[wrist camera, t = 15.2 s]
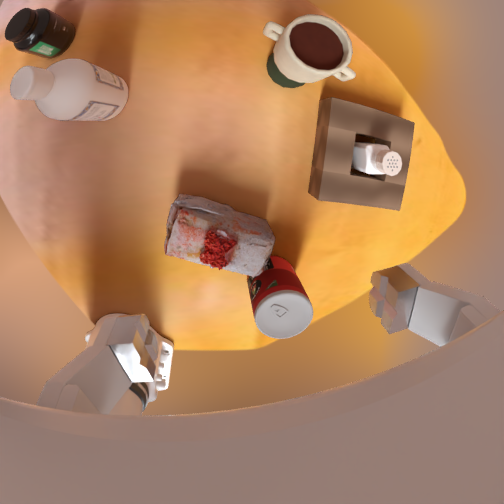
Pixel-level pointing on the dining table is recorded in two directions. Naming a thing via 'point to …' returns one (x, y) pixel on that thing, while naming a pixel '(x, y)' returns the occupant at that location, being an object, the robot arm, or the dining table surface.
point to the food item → (218, 236)
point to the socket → (341, 153)
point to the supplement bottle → (40, 32)
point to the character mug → (308, 51)
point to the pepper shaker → (375, 159)
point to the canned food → (279, 300)
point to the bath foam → (71, 90)
